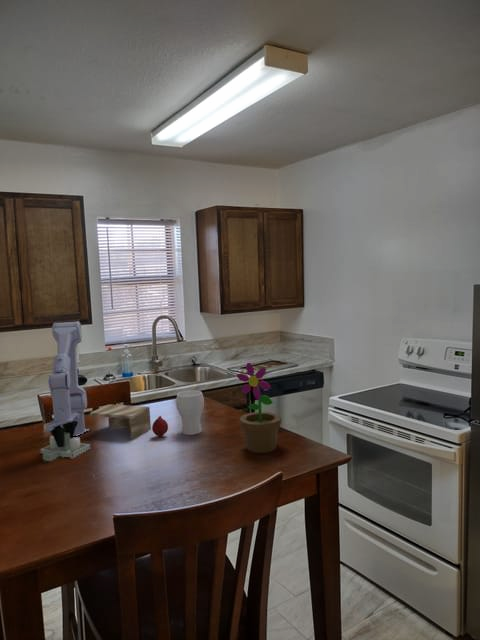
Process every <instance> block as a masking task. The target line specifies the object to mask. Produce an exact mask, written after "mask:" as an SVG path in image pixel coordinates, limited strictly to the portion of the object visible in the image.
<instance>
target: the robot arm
mask: <svg viewBox="0 0 480 640" xmlns="http://www.w3.org/2000/svg"><path fill="white" fill-rule="evenodd" d="M51 327H52V328H51V331H52V337H53V339H54V340H55V342H56V343H57V355H55V356H54V357H53V363H52V367H51V368H52V369H51V374H49V375H48V387H49V388H48V389H49V390H50V395H51V399H52V409H53V410H52V411H53V420H51V421H50V422H49V423H47V424H45V425H44V427H45V431H46V432H49V433H50V434H51V436H53V437H54V439H55V441H56V443H57V446H58V447H64V432H67V433H70V439H71V438H73V436H75V435H76V436H78V435H80V434H82V435H84V434H85V433H84V432H86V431H88V432H90V431H89V430H91V429H90V428H86V425H85V413H84V410H86V409H87V407H88V398H87V392H86V389H85V388H83V387H82V386H80V385H79V377H78V373H79V372H78V371H79V370H78V353H77V352H78V351H77V350H78V349H77V347H78V344H80V343H82V339H83V338H82V337H83V335H82V324H81V322H80V321H79V320H76V321H67V322H66V321H65V322H54V323H53V324H52V326H51ZM83 433H84V434H83ZM86 433H87V432H86ZM80 436H81V435H80ZM78 437H79V436H78Z"/></svg>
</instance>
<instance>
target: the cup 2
mask: <svg viewBox="0 0 480 640" xmlns="http://www.w3.org/2000/svg"><path fill="white" fill-rule="evenodd" d="M204 399H205V398H204V395H203V392H202V391H201V390H193V389H192V390H185V391H184V390H183V391H179V392H178V393H177V394H176V400H175V404H176V405H175V406H176V407H175V408H176V409H177V412H178V414H179V416H180V417H181V424H182V426H181V434H183V435H185V436H187V435H188V436H193V435H198V434H200V433H201V432H203V429H202V424H201V416H202V413H203V411H204V407H205V400H204Z"/></svg>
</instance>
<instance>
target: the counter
mask: <svg viewBox="0 0 480 640" xmlns="http://www.w3.org/2000/svg"><path fill="white" fill-rule="evenodd" d="M89 416H90V417H103V418H104V417H105V418H108V427H110V428H117V429H118V428H120V429H121V428H122V429H129V430H130V440H134V441H135V440H137V438H139V437H141V436H143V435H144V434H145V433H147V432H149V431H150V430H152V427H151V426H152V424H151V423H152V422H151V410H150V406H140V405H126V404H125V405H123V404H107V405H105V406H103V407H100V408H98V409H95V410H93V411H91V412H89Z"/></svg>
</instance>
